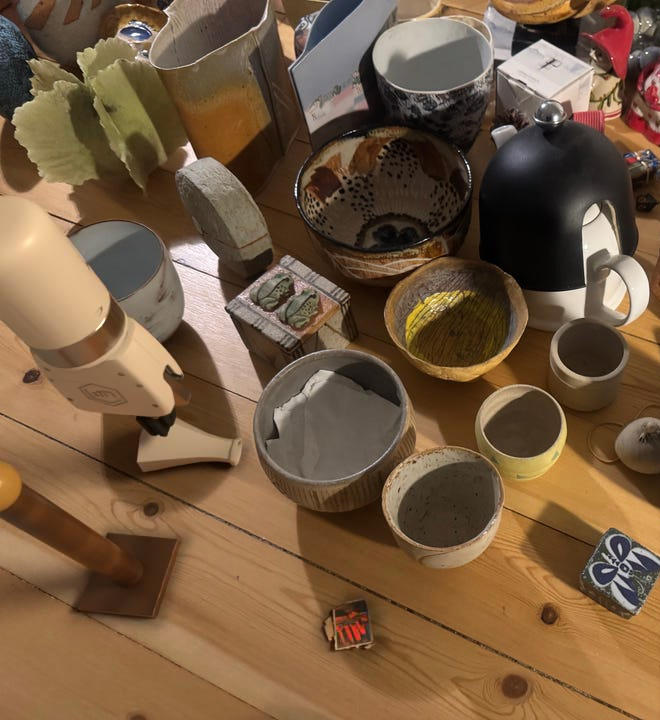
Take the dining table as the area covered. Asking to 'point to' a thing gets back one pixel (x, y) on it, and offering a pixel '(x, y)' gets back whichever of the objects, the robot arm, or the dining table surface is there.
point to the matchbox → (350, 625)
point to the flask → (185, 448)
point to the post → (94, 551)
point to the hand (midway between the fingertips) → (164, 423)
